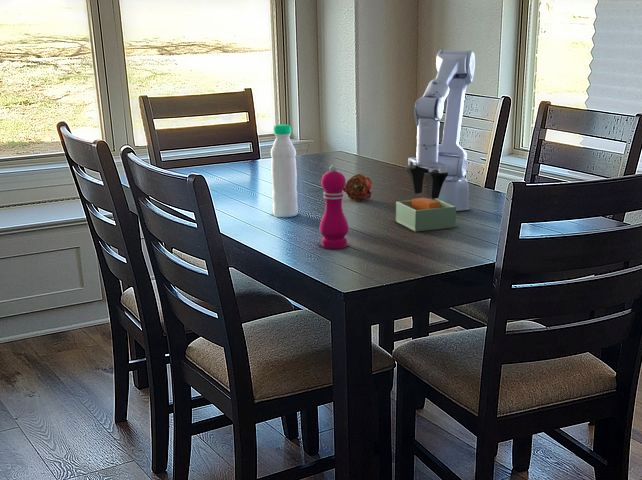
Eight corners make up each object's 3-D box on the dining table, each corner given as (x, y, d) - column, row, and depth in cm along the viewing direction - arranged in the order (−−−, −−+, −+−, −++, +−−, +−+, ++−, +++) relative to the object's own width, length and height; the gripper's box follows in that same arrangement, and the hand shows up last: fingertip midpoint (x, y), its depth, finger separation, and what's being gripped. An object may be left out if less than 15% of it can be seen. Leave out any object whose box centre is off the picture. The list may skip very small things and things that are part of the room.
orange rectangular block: (422, 218, 237) (423, 197, 235) (439, 223, 232) (440, 201, 229) (411, 220, 235) (412, 199, 232) (428, 225, 229) (429, 203, 227)
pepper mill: (319, 242, 216) (317, 162, 208) (347, 241, 216) (347, 162, 209) (320, 249, 209) (318, 167, 201) (349, 249, 210) (349, 167, 202)
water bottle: (301, 213, 245) (299, 123, 235) (291, 218, 239) (288, 127, 229) (279, 211, 247) (276, 122, 237) (269, 216, 241) (265, 126, 231)
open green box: (434, 217, 241) (435, 197, 239) (455, 227, 230) (456, 206, 228) (395, 221, 236) (396, 201, 234) (415, 231, 226) (415, 210, 224)
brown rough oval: (360, 209, 256) (353, 206, 268) (382, 191, 256) (374, 189, 268) (343, 187, 254) (336, 185, 265) (365, 169, 254) (357, 167, 265)
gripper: (399, 142, 229) (398, 192, 234) (432, 149, 217) (430, 202, 223) (420, 140, 232) (419, 189, 237) (454, 147, 221) (451, 199, 226)
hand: (426, 195), depth 230 cm, fingers open, 7 cm apart
